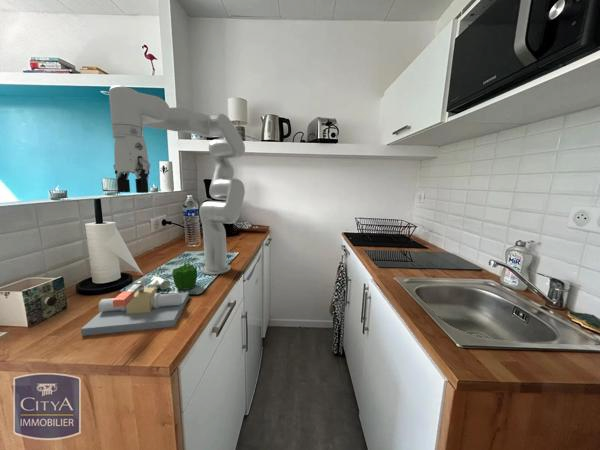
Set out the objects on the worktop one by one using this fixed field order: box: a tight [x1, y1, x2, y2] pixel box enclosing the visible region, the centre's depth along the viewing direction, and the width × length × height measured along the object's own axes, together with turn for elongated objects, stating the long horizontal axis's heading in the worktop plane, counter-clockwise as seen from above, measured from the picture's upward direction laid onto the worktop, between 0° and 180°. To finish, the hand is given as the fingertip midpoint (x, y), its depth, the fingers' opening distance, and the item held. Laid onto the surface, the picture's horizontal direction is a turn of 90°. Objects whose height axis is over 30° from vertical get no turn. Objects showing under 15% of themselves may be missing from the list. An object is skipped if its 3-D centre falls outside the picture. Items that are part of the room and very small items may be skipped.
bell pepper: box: [172, 262, 198, 291], centre depth 93 cm, size 8×8×10 cm
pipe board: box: [80, 287, 190, 337], centre depth 74 cm, size 18×22×7 cm
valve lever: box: [113, 278, 148, 307], centre depth 68 cm, size 14×3×3 cm, turn 12°
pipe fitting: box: [146, 275, 171, 291], centre depth 93 cm, size 8×4×7 cm
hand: (133, 192), depth 75 cm, fingers open, 9 cm apart
